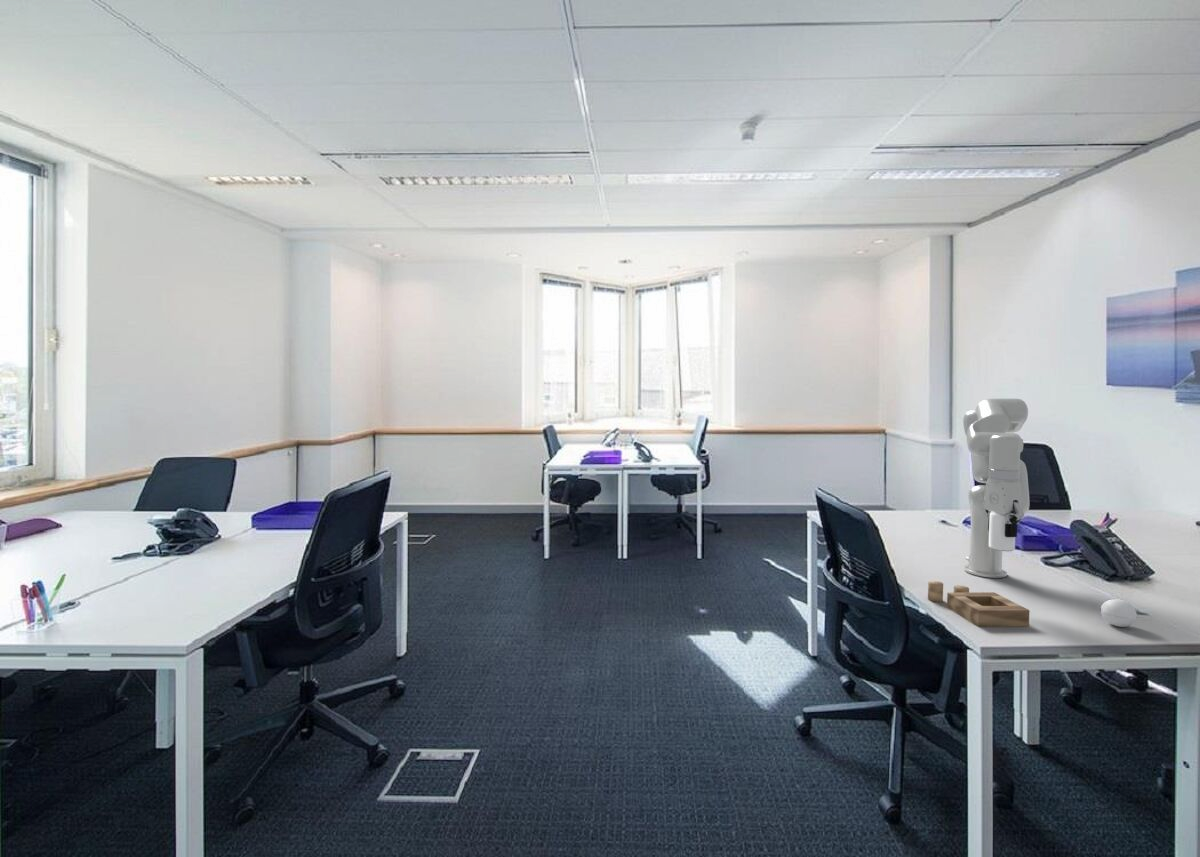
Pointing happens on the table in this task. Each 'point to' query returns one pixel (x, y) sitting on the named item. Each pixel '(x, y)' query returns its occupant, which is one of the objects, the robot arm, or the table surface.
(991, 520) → the can
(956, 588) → the peg short
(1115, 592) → the table surface
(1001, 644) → the table surface
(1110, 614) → the white rounded egg-shaped part
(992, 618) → the wooden rectangular frame
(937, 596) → the peg mid
